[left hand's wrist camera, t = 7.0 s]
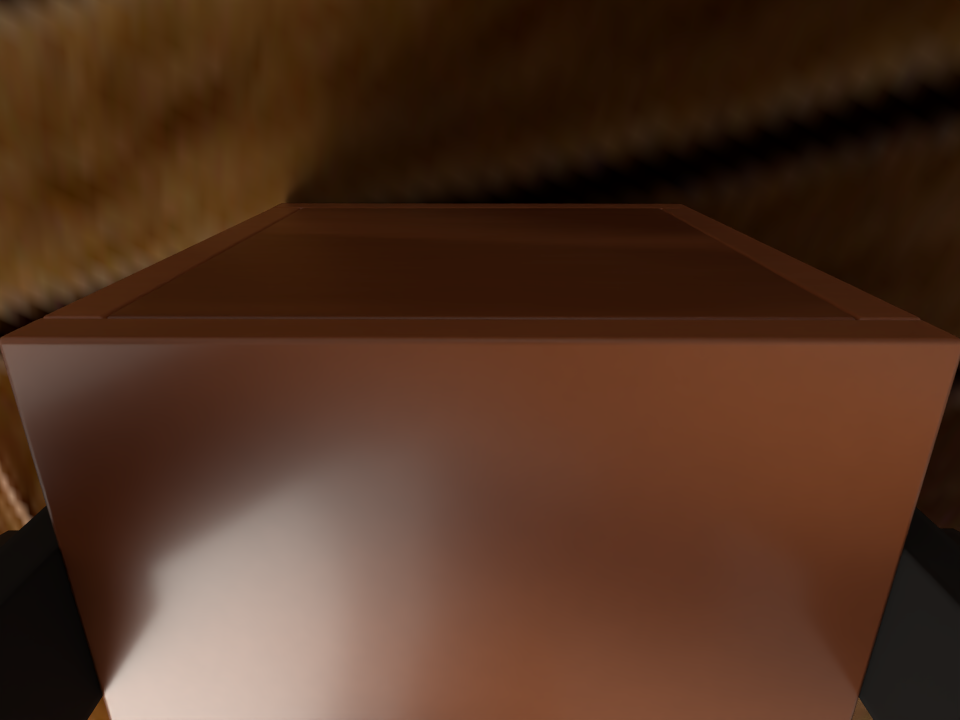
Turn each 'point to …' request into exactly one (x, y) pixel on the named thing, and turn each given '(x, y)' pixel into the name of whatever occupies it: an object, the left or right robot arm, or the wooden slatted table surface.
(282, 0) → the wooden slatted table surface
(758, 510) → the cabinet
